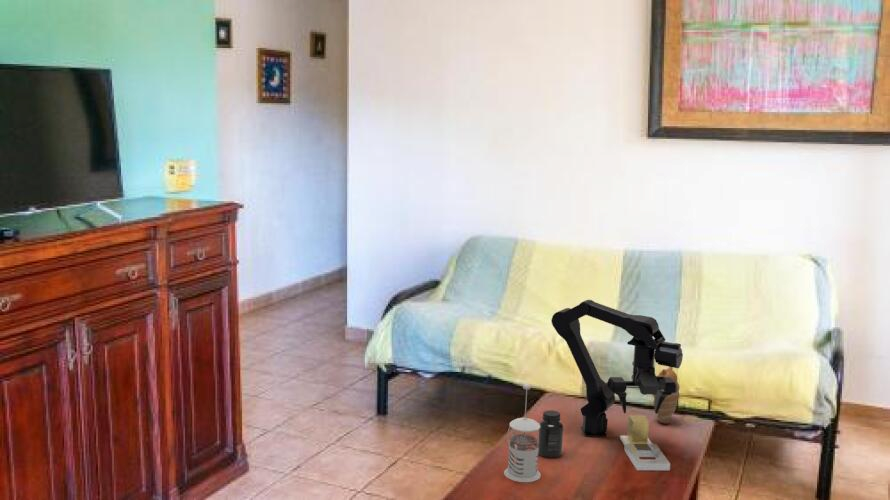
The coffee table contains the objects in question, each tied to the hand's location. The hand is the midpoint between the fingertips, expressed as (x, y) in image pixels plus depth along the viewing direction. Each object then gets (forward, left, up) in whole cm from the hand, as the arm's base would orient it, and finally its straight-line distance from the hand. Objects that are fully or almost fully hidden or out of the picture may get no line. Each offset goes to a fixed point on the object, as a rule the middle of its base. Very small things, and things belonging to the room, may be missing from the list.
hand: (640, 413), depth 240 cm
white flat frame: (-1, -11, -10) cm, 14 cm away
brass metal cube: (0, 0, -9) cm, 9 cm away
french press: (-37, -19, -10) cm, 43 cm away
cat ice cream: (+13, +16, -10) cm, 23 cm away
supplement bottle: (-27, -7, -10) cm, 30 cm away
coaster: (0, 0, -10) cm, 10 cm away
